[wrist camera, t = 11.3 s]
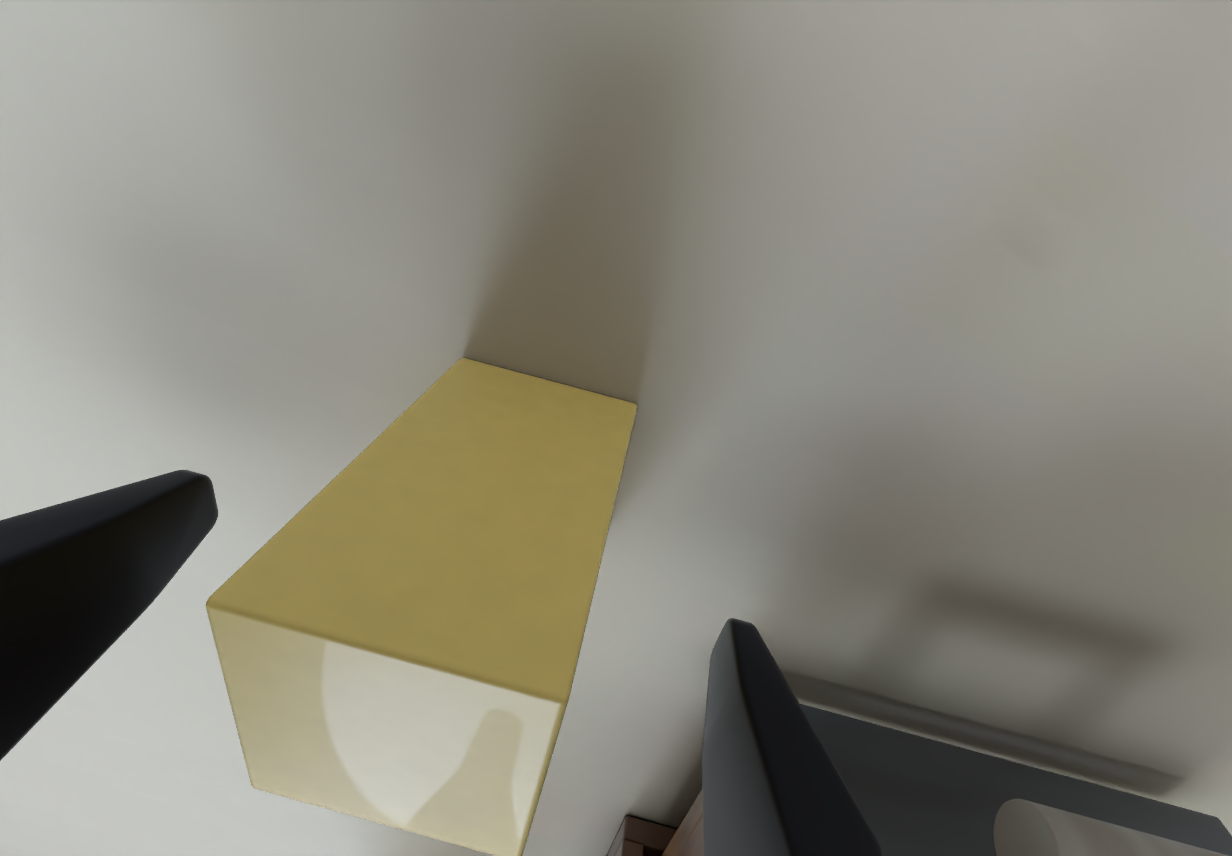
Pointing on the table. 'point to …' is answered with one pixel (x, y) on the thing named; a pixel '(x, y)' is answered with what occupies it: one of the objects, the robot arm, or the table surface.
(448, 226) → the table surface
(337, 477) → the block
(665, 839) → the cabinet
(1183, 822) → the drawer
